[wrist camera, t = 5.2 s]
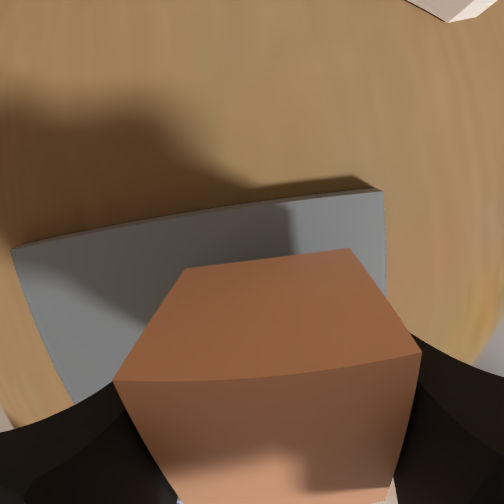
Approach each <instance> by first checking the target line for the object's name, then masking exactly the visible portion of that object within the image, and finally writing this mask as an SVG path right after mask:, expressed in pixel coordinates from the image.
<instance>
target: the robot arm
mask: <svg viewBox="0 0 504 504" xmlns="http://www.w3.org/2000/svg"><path fill="white" fill-rule="evenodd" d="M410 334H411V333H410ZM411 336H412V337H413V339H414V340H415V342H416V343H417V345H418V346H419V348H420V350H421V351H422V356H421V362H420V368H419V374H418V379H417V385H416V390H415V395H414V400H413V404H412V409H411V413H410V417H409V422H408V426H407V430H406V434H405V437H404V441H403V445H402V448H401V452H400V455H399V459H398V462H397V465H396V469H395V472H394V475H393V478H394V483H395V488H396V494H397V500H398V504H504V377H501V376H498V375H494V374H491V373H488V372H485V371H483V370H480V369H477V368H475V367H473V366H470V365H468V364H466V363H463V362H461V361H459V360H457V359H455V358H453V357H451V356H449V355H447V354H445V353H443V352H441V351H439V350H438V349H436V348H434V347H432V346H430V345H429V344H427V343H425V342H424V341H422V340H420V339H419V338H417V337H416V336H414V335H413V334H411ZM0 504H183V502H182V501H181V500H180V498H179V497H178V495H177V494H176V492H175V491H174V489H173V488H172V486H171V485H170V483H169V482H168V480H167V479H166V477H165V476H164V474H163V473H162V471H161V469H160V468H159V466H158V465H157V463H156V461H155V460H154V458H153V456H152V455H151V453H150V451H149V450H148V448H147V446H146V445H145V443H144V441H143V439H142V438H141V436H140V434H139V432H138V430H137V429H136V427H135V425H134V423H133V421H132V419H131V417H130V416H129V414H128V412H127V410H126V408H125V406H124V404H123V402H122V400H121V398H120V396H119V394H118V392H117V390H116V388H115V385H114V383H113V381H112V382H110V383H109V384H108V385H106V386H105V387H103V388H102V389H100V390H99V391H97V392H96V393H94V394H93V395H91V396H89V397H88V398H86V399H84V400H83V401H81V402H79V403H77V404H75V405H74V406H72V407H70V408H68V409H65V410H63V411H61V412H59V413H57V414H55V415H52V416H50V417H48V418H46V419H43V420H41V421H38V422H35V423H33V424H30V425H27V426H23V427H20V428H17V429H13V430H10V431H6V432H1V433H0Z"/></svg>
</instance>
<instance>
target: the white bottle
mask: <svg viewBox="0 0 504 504" xmlns="http://www.w3.org/2000/svg"><path fill="white" fill-rule="evenodd" d="M407 1H409V2H411V3H413V4H415V5H417V6H418V7H420V8H422V9H424V10H426V11H428V12H430V13H431V14H433V15H435V16H437V17H438V18H440V19H442V20H443V21H445V22H447V23H449V22H454V21H458V20H463V19H469V18H474V17H477V16H478V15H479V14H481V13H482V12H483V11H484V10H486V9H487V8H488V7H489V6H491V5H492V4H493V3H495V2H496V1H497V0H407Z"/></svg>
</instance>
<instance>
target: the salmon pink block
mask: <svg viewBox="0 0 504 504" xmlns="http://www.w3.org/2000/svg"><path fill="white" fill-rule="evenodd" d="M421 356H422V351H421V350H420V348H419V346H418V345H417V343H416V342H415V340H414V339H413V337H412V336H411V334H410V333H409V331H408V330H407V328H406V327H405V325H404V324H403V322H402V321H401V319H400V318H399V316H398V315H397V313H396V312H395V310H394V309H393V308H392V306H391V305H390V303H389V302H388V300H387V299H386V298H385V296H384V295H383V293H382V292H381V290H380V289H379V288H378V286H377V285H376V283H375V282H374V281H373V279H372V278H371V276H370V275H369V274H368V272H367V271H366V270H365V268H364V267H363V265H362V264H361V263H360V261H359V260H358V259H357V257H356V256H355V255H354V253H353V252H352V251H351V249H350V248H344V249H337V250H329V251H321V252H313V253H306V254H298V255H290V256H282V257H274V258H266V259H258V260H250V261H242V262H234V263H226V264H217V265H209V266H201V267H193V268H185V270H184V271H183V273H182V274H181V275H180V277H179V278H178V280H177V281H176V283H175V284H174V286H173V287H172V289H171V290H170V292H169V293H168V295H167V296H166V298H165V299H164V301H163V302H162V304H161V305H160V307H159V308H158V310H157V311H156V313H155V314H154V316H153V317H152V319H151V320H150V322H149V323H148V325H147V326H146V328H145V329H144V331H143V332H142V334H141V335H140V337H139V339H138V340H137V342H136V343H135V345H134V346H133V348H132V349H131V351H130V353H129V354H128V356H127V357H126V359H125V360H124V362H123V364H122V365H121V367H120V368H119V370H118V371H117V373H116V375H115V376H114V378H113V379H112V381H113V383H114V385H115V388H116V390H117V392H118V394H119V396H120V398H121V400H122V402H123V404H124V406H125V408H126V410H127V412H128V414H129V416H130V417H131V419H132V421H133V423H134V425H135V427H136V429H137V430H138V432H139V434H140V436H141V438H142V439H143V441H144V443H145V445H146V446H147V448H148V450H149V451H150V453H151V455H152V456H153V458H154V460H155V461H156V463H157V465H158V466H159V468H160V469H161V471H162V473H163V474H164V476H165V477H166V479H167V480H168V482H169V483H170V485H171V486H172V488H173V489H174V491H175V492H176V494H177V495H178V497H179V498H180V500H181V501H182V502H183V504H371V503H375V502H380V501H384V500H385V498H386V495H387V493H388V489H389V486H390V484H391V481H392V478H393V475H394V472H395V469H396V465H397V462H398V459H399V455H400V452H401V448H402V445H403V441H404V437H405V434H406V430H407V426H408V422H409V417H410V413H411V409H412V404H413V400H414V395H415V390H416V385H417V379H418V374H419V368H420V362H421Z"/></svg>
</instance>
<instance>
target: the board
mask: <svg viewBox="0 0 504 504" xmlns="http://www.w3.org/2000/svg"><path fill="white" fill-rule="evenodd" d="M344 248H350V249H351V251H352V252H353V253H354V255H355V256H356V257H357V259H358V260H359V261H360V263H361V264H362V265H363V267H364V268H365V270H366V271H367V272H368V274H369V275H370V276H371V278H372V279H373V281H374V282H375V283H376V285H377V286H378V288H379V289H380V290H381V292H382V293H383V295H384V296H385V298H386V232H385V211H384V195H383V191H381V190H379V189H377V188H369V189H359V190H349V191H340V192H331V193H322V194H313V195H305V196H297V197H289V198H281V199H273V200H266V201H258V202H251V203H244V204H237V205H230V206H224V207H217V208H210V209H204V210H198V211H191V212H185V213H179V214H173V215H167V216H161V217H156V218H150V219H144V220H139V221H133V222H128V223H122V224H117V225H112V226H107V227H101V228H96V229H91V230H86V231H81V232H77V233H72V234H67V235H62V236H57V237H53V238H48V239H44V240H39V241H35V242H30V243H26V244H22V245H20V246H18V247H16V248H14V249H12V250H10V252H11V255H12V259H13V262H14V265H15V269H16V272H17V275H18V278H19V281H20V284H21V287H22V290H23V293H24V296H25V298H26V301H27V304H28V306H29V309H30V312H31V314H32V317H33V319H34V322H35V324H36V327H37V329H38V331H39V334H40V336H41V338H42V341H43V343H44V345H45V347H46V350H47V352H48V354H49V356H50V358H51V360H52V362H53V364H54V366H55V368H56V370H57V372H58V374H59V376H60V378H61V380H62V382H63V384H64V386H65V388H66V390H67V392H68V393H69V395H70V397H71V399H72V401H73V402H74V404H77V403H79V402H81V401H83V400H84V399H86V398H88V397H89V396H91V395H93V394H94V393H96V392H97V391H99V390H100V389H102V388H103V387H105V386H106V385H108V384H109V383H110V382H112V379H113V378H114V376H115V375H116V373H117V371H118V370H119V368H120V367H121V365H122V364H123V362H124V360H125V359H126V357H127V356H128V354H129V353H130V351H131V349H132V348H133V346H134V345H135V343H136V342H137V340H138V339H139V337H140V335H141V334H142V332H143V331H144V329H145V328H146V326H147V325H148V323H149V322H150V320H151V319H152V317H153V316H154V314H155V313H156V311H157V310H158V308H159V307H160V305H161V304H162V302H163V301H164V299H165V298H166V296H167V295H168V293H169V292H170V290H171V289H172V287H173V286H174V284H175V283H176V281H177V280H178V278H179V277H180V275H181V274H182V273H183V271H184V270H185V268H193V267H201V266H209V265H217V264H226V263H234V262H242V261H250V260H258V259H266V258H274V257H282V256H290V255H298V254H306V253H313V252H321V251H329V250H337V249H344Z"/></svg>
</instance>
